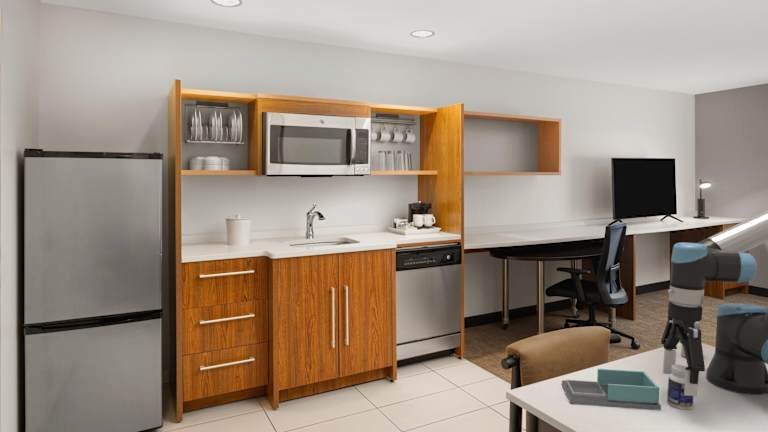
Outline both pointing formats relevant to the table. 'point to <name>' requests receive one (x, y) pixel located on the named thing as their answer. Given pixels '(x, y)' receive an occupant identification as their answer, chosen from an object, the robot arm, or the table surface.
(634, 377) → the housing
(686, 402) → the pill bottle
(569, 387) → the plate
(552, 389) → the table surface
